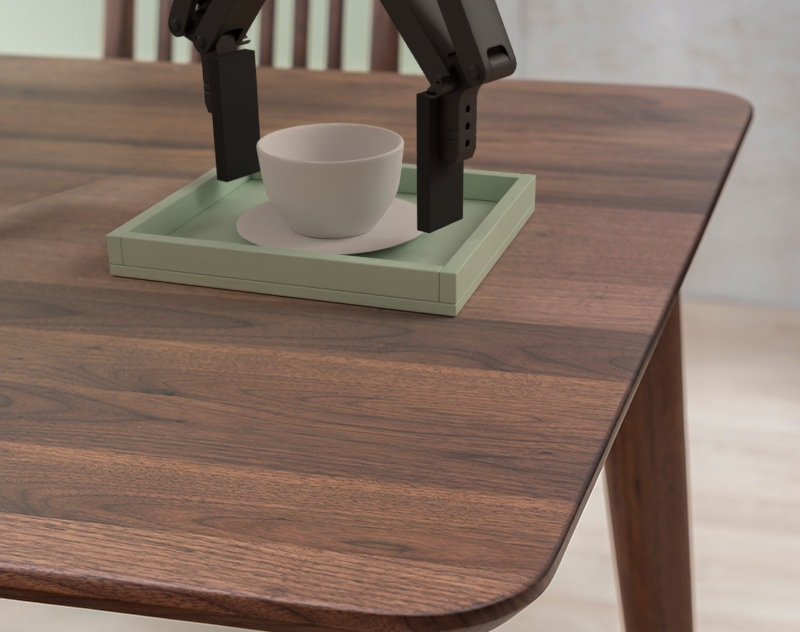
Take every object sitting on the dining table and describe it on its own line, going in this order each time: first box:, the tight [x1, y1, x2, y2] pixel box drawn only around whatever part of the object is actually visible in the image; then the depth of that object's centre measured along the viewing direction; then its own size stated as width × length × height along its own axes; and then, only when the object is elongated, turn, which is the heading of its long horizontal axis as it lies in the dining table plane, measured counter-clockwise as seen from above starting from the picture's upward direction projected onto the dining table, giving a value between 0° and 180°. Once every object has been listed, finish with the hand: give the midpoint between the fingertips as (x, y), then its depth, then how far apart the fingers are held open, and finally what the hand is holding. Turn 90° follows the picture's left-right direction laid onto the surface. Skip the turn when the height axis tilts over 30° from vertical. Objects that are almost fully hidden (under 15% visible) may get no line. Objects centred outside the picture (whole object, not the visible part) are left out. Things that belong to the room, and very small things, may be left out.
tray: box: [105, 163, 537, 317], centre depth 65 cm, size 18×16×2 cm
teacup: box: [236, 122, 423, 255], centre depth 64 cm, size 10×10×5 cm
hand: (334, 199), depth 64 cm, fingers open, 13 cm apart
